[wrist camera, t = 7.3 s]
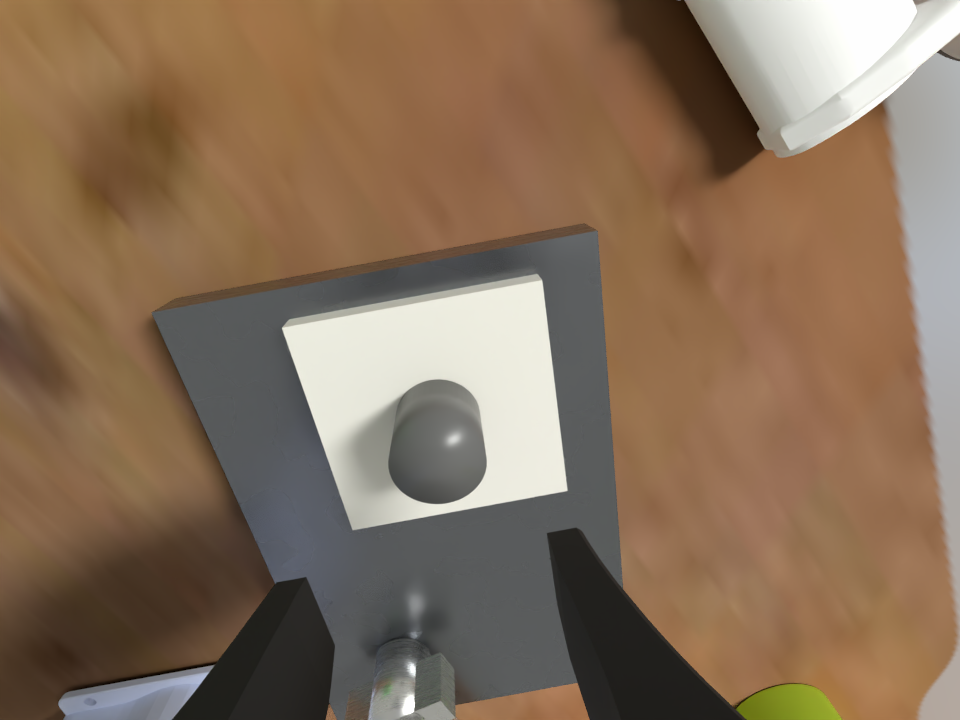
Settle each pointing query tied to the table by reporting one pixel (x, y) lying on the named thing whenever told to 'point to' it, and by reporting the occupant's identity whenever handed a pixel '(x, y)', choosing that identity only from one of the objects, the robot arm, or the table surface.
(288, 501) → the panel
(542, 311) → the cover
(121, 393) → the table surface
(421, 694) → the t key
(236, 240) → the table surface
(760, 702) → the soap dispenser
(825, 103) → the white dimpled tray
